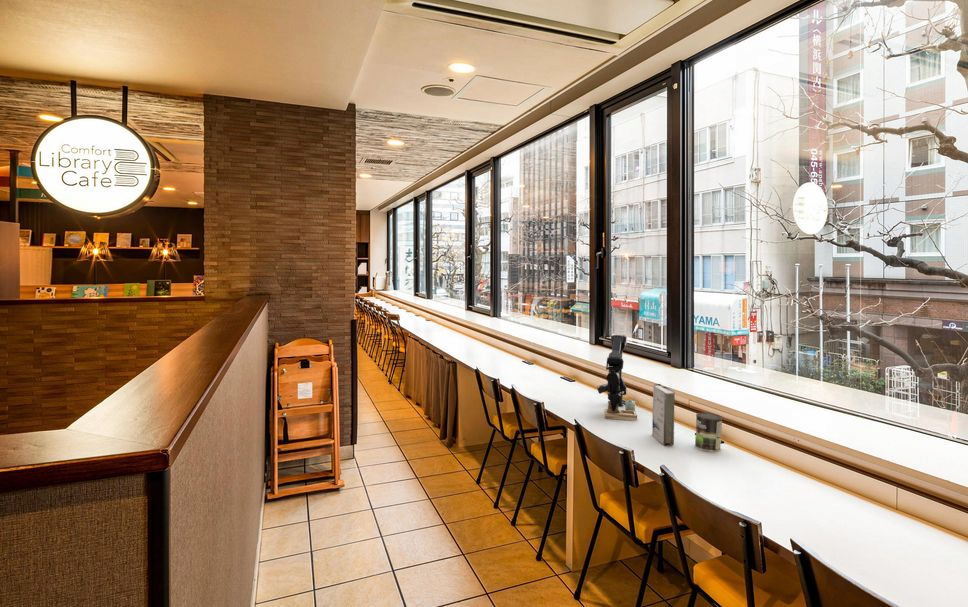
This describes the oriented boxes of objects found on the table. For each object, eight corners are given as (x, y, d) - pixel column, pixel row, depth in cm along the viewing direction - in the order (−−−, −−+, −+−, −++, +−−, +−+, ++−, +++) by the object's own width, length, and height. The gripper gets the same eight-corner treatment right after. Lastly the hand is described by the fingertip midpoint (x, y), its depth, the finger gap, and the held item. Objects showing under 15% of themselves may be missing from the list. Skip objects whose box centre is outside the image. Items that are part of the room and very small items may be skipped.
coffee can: (705, 452, 213) (706, 419, 212) (689, 444, 223) (691, 413, 223) (726, 451, 216) (727, 418, 215) (710, 443, 226) (711, 411, 225)
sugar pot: (624, 410, 276) (625, 398, 275) (634, 411, 275) (634, 399, 274) (625, 413, 271) (625, 400, 271) (635, 414, 270) (635, 401, 270)
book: (650, 433, 237) (652, 382, 236) (662, 434, 237) (664, 383, 236) (661, 446, 221) (663, 391, 219) (674, 446, 221) (676, 391, 219)
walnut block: (617, 410, 267) (618, 401, 267) (618, 413, 262) (618, 403, 262) (607, 410, 268) (608, 400, 268) (608, 412, 263) (608, 403, 263)
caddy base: (604, 413, 270) (604, 408, 270) (635, 415, 267) (635, 411, 267) (604, 418, 262) (604, 413, 261) (637, 420, 258) (637, 415, 258)
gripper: (597, 375, 275) (597, 403, 276) (598, 382, 256) (597, 413, 257) (619, 376, 272) (618, 405, 273) (621, 384, 254) (620, 414, 255)
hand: (613, 409), depth 265 cm, fingers open, 5 cm apart
